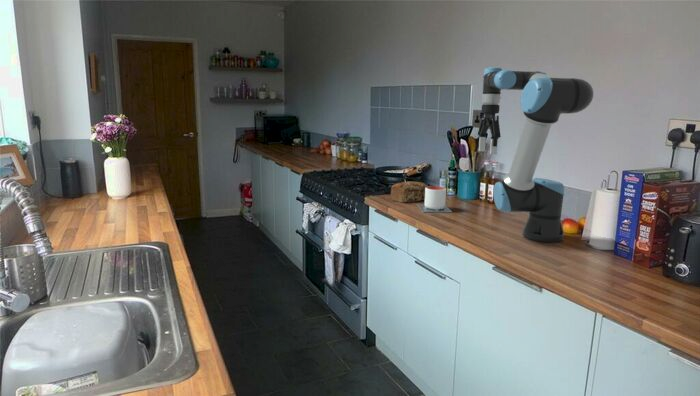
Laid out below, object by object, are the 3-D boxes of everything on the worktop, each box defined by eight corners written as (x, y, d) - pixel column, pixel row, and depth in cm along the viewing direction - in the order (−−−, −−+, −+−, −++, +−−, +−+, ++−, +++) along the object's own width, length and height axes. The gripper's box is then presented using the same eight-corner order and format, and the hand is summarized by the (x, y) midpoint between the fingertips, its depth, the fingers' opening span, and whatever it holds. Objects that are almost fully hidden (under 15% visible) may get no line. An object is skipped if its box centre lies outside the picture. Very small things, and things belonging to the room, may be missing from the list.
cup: (446, 210, 225) (447, 190, 223) (425, 210, 226) (426, 189, 223) (442, 205, 235) (444, 186, 233) (423, 205, 235) (424, 185, 233)
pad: (452, 212, 224) (452, 211, 224) (423, 212, 223) (423, 211, 223) (444, 206, 238) (444, 204, 238) (417, 206, 237) (417, 204, 237)
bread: (402, 203, 242) (403, 184, 240) (389, 199, 251) (390, 181, 249) (429, 200, 252) (430, 181, 250) (416, 196, 261) (416, 178, 259)
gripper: (511, 104, 194) (507, 155, 197) (488, 104, 218) (485, 150, 222) (493, 103, 193) (489, 155, 197) (472, 104, 217) (469, 150, 221)
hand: (487, 152), depth 209 cm, fingers open, 13 cm apart
